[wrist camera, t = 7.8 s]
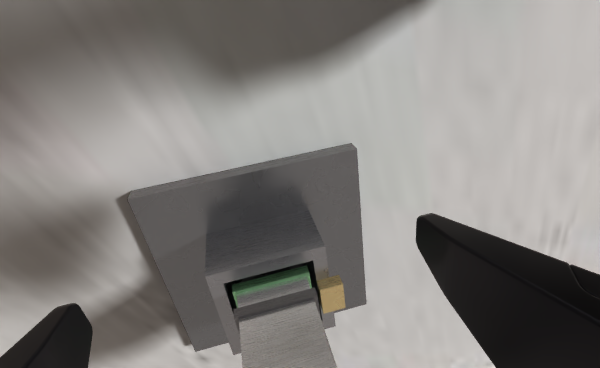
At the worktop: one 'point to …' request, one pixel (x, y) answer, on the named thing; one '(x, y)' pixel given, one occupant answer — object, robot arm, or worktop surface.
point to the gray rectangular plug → (281, 322)
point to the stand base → (256, 236)
